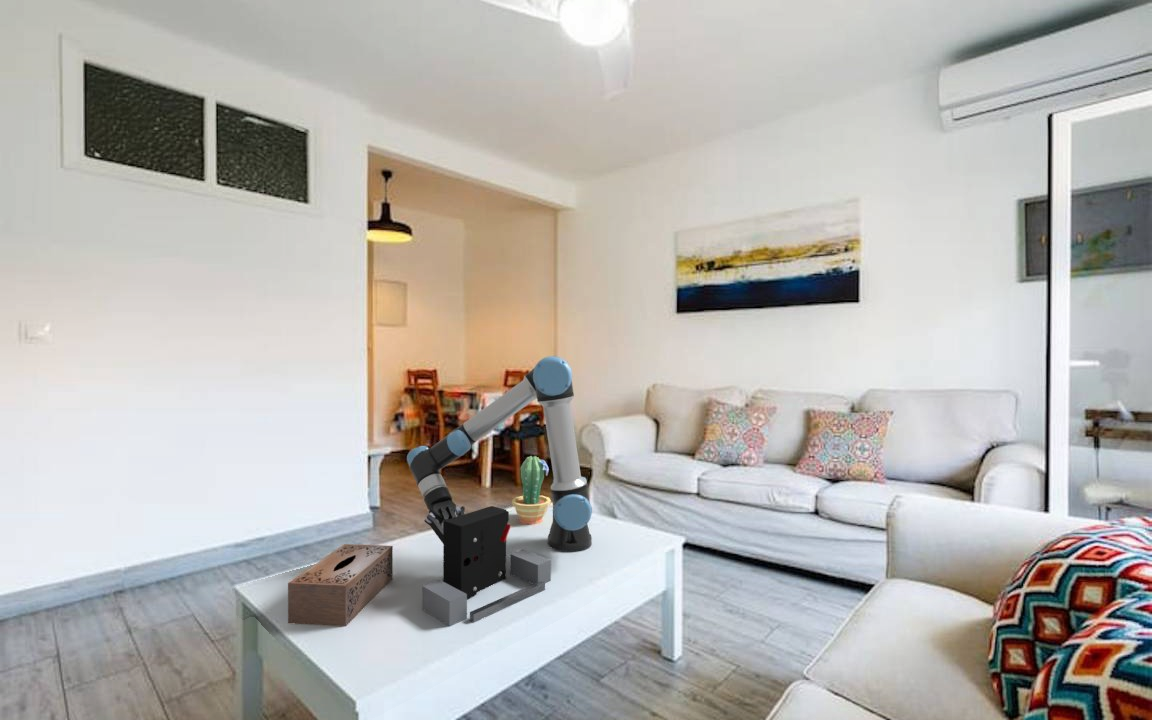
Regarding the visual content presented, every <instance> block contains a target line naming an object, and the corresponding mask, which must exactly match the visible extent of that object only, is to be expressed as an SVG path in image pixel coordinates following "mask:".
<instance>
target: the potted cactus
mask: <svg viewBox="0 0 1152 720" xmlns="http://www.w3.org/2000/svg"><path fill="white" fill-rule="evenodd" d="M549 471H550V469H549V466H548V464H547V462H546V461H545V460H544V459H540V458H539V456H538V457H537V456H536V455H534V456H532V455H530V456H527V457H526V458H525V460H524V461H523V462H522V464H521V466H520V479H521V483H522V487H523V489H522V495H521V496H515V497H514V498H513V499H511V504H512V506H513V507H514V509H515V512H516V514H517V516H518V517H519V522H520V523H521V524H525V525H537V524H540V523H542V522H543V517H544V516H545V515H546V513H547V511H548V507H549V506H550V505H551V502H552V499H551V498H550V497H548V496H544V495H540V494H541V488H542V484H543V482H544V479H545V476H548V474H549Z"/></svg>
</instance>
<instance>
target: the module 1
mask: <svg viewBox="0 0 1152 720" xmlns="http://www.w3.org/2000/svg"><path fill="white" fill-rule="evenodd" d="M421 591H422V593H421V595H422V598H421V599H422V608H421V609H422V610H423V611H424V612H426V613H427V614H429V615H430V616H432V617H433V618H435V619H437V620H439V621H441V623H444V624H445V625H447V626H448V627H452V626H453V625H456V624H458V623H461V622H463V621H466V620H467V619H468V600H467V594H466V593H464V592H462V591H460V590H458V589H456V588H454V587H452V586H450V585H449V584H447V583H445V582H443V580H441V579H438V580H434V581H432V582H429V583H427V584H424V585H422V589H421Z"/></svg>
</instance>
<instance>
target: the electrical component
mask: <svg viewBox="0 0 1152 720" xmlns="http://www.w3.org/2000/svg"><path fill="white" fill-rule="evenodd" d="M509 512H510V511H508V510H507V509H505V508H502V507H498V506H493V505H491V506H487V507H484V508H481V509H478V510H473V511H471V512H469V513H464V515H461V516H458V517H457V516H456V517H454V518H451V519H448V520H445V521H443V523H442V528H443V534H444V543H442V544H443V545H442V546H443V548H442V549H443V551H442V552H443V560H442V561H443V567H442V570H443V572H442V573H443V575H442V579H443V580H442V581H443V582H445V583H447V584H449V585H450V586H452V587H454V588H456V589H458V590H460V591H462V592H464V593H466V594H467V601H469V599H471V598H473V597H475V596H476V595H477V594H478V593H479V592H481V591H484V590H485V589H487V588H489V586H490V587H492V586H493V584H494V585H496V584H498V583H500V582H503V581H504V580H506V579H507V538H508V534H509V532H510V529H511V527H512V525H511V524H508V522H509V521H510V517H509V516H510V513H509ZM491 585H492V586H491ZM480 590H481V591H480Z"/></svg>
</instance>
